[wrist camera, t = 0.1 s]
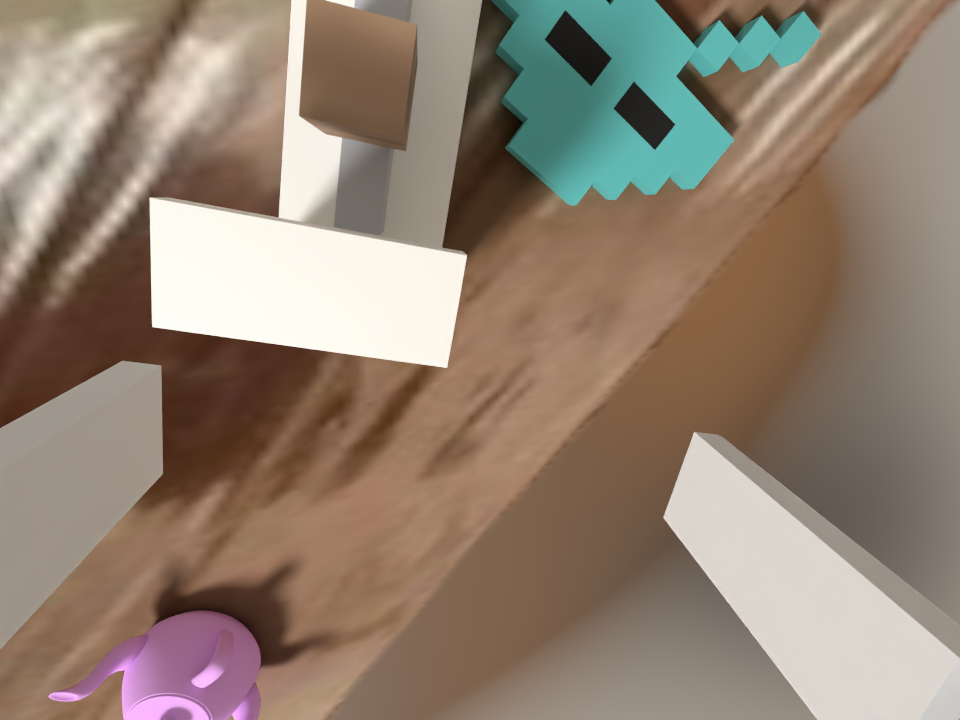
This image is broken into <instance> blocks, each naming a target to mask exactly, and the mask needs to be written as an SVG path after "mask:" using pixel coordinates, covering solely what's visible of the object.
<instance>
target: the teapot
mask: <svg viewBox="0 0 960 720" xmlns="http://www.w3.org/2000/svg"><path fill="white" fill-rule="evenodd" d="M260 665H261V654H260V649H259V647H258V644H257V642H256V640H255V638H254V637H253V635H252V634H251V632H250V631H249V630H248V629H247V628H246V627H245V626H244V625H243V624H242V623H241V622H239V621H238V620H236V619H234V618H233V617H230V616H228V615H226V614H222V613H219V612H214V611H191V612H186V613H182V614H178V615H175V616H172V617H170V618H167V619H165V620H162V621H161V622H159V623H157V624H155V625H154V626H153V627H152V628H150V629H149V630H148V631H146V633H145V634H144V635H141V636H136V637H132V638H129V639H127V640H124V641H123V642H121V643H120V644H118V645H117V646H115V647H114V648H113V649H112V650H111V651H110V652H109V653H108V654H107V655H106V656H105V657H104V658H103V659H102V660H101V662H100V663H99V664H98V665H97V666H96V668H95V669H94V670H93V671H92V672H91V673H90V674H89V675H88V676H87V677H86V678H85V679H84V680H82V681H81V682H80V683H79V684H77V685H75V686H73V687H71V688H68V689H64V690H61V691H57V692H53V693H51V694H50V695H49V696H48V697H49V698H51V699H53V700H57V701H76V700H80V699H82V698H84V697H86V696H88V695H89V694H91V693H92V692H93V691H94V690H95V689H96V688H97V687H98V686H99V685H100V684H101V683H102V682H103V681H104V680H105V678H106V677H108V676H109V675H110V674H112V673H114V672H117V671H122V670H125V673H124V678H123V684H122V707H123V717H124V720H227V719H228V718H229V717H230V716H231V715H233V717H234V719H235V720H257V719H258V715H259V711H260V702H261V699H260V694H259V690H258V688H257V685H256V683H255V680H256V678H257V675H258V672H259V670H260Z"/></svg>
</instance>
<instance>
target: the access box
mask: <svg viewBox="0 0 960 720" xmlns="http://www.w3.org/2000/svg"><path fill="white" fill-rule="evenodd" d="M326 1H330V2H334V3H338V4H341V5H345V6H349V7H353V8H357V9H360V10H364V11H368V12H372V13H375V14H379V15H383V16H387V17H391V18H394V19H398V20H402V21H406V22H410V23H413V24H417V62H418V64H417V72H416V79H415V87H414V95H413V102H412V110H411V117H410V125H409V132H408V140H407V148H406V151H401V150H397V149H392V148H387V147H383V146H378V145H374V144H369V143H364V142H360V141H355V140H350V139H346V138H341V137H336V136H332V135H327V134H325V133H323V132H322V131H320V130H319V129H317V128H316V127H314V126H313V125H312V124H310V123H309V122H307V121H306V120H304V119H303V118H301V117H300V116H299V106H300V92H301V77H302V62H303V47H304V32H305V18H306V3H307V0H292V4H291V21H290V37H289V54H288V71H287V88H286V105H285V122H284V138H283V155H282V172H281V189H280V206H279V218H278V217H272V216H267V215H261V214H256V213H250V212H245V211H239V210H234V209H228V208H223V207H218V206H212V205H207V204H201V203H196V202H190V201H185V200H179V199H174V198H150V238H151V290H152V327H156V328H163V329H171V330H178V331H185V332H192V333H199V334H207V335H214V336H221V337H228V338H236V339H243V340H250V341H257V342H264V343H272V344H279V345H286V346H293V347H301V348H308V349H315V350H322V351H329V352H337V353H344V354H351V355H358V356H365V357H373V358H380V359H387V360H394V361H402V362H409V363H416V364H423V365H430V366H438V367H445V368H447V365H448V360H449V354H450V348H451V343H452V337H453V332H454V326H455V320H456V315H457V309H458V304H459V298H460V292H461V287H462V281H463V276H464V270H465V264H466V259H467V255H466V254H465V252H463V251H458V250H452V249H447V248H442V245H443V239H444V232H445V226H446V220H447V214H448V208H449V202H450V195H451V189H452V183H453V177H454V171H455V165H456V158H457V152H458V146H459V140H460V134H461V128H462V121H463V115H464V109H465V103H466V97H467V91H468V84H469V78H470V72H471V66H472V60H473V54H474V47H475V41H476V35H477V29H478V23H479V17H480V10H481V4H482V0H326Z"/></svg>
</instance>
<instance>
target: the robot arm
mask: <svg viewBox="0 0 960 720" xmlns="http://www.w3.org/2000/svg"><path fill="white" fill-rule="evenodd" d="M162 474H163V449H162V390H161V366H160V365H152V364H144V363H136V362H128V361H121V362H120V363H118V364H116V365H114V366H112V367H111V368H109V369H107V370H105V371H103V372H102V373H100V374H98V375H96V376H94V377H92V378H91V379H89V380H87V381H85V382H83V383H82V384H80V385H78V386H76V387H74V388H73V389H71V390H69V391H67V392H65V393H64V394H62V395H60V396H58V397H56V398H54V399H53V400H51V401H49V402H47V403H45V404H44V405H42V406H40V407H38V408H36V409H35V410H33V411H31V412H29V413H27V414H26V415H24V416H22V417H20V418H18V419H16V420H15V421H13V422H11V423H9V424H7V425H6V426H4V427H2V428H0V649H1V648H2V647H3V646H4V645H5V644H6V643H7V642H8V640H9V639H10V638H11V637H12V636H13V635H14V634H15V633H16V632H17V631H18V630H19V629H20V627H21V626H22V625H23V624H24V623H25V622H26V621H27V620H28V619H29V618H30V617H31V616H32V615H33V613H34V612H35V611H36V610H37V609H38V608H39V607H40V606H41V605H42V604H43V603H44V602H45V600H46V599H47V598H48V597H49V596H50V595H51V594H52V593H53V592H54V591H55V590H56V589H57V588H58V586H59V585H60V584H61V583H62V582H63V581H64V580H65V579H66V578H67V577H68V576H69V575H70V573H71V572H72V571H73V570H74V569H75V568H76V567H77V566H78V565H79V564H80V563H81V562H82V561H83V559H84V558H85V557H86V556H87V555H88V554H89V553H90V552H91V551H92V550H93V549H94V548H95V546H96V545H97V544H98V543H99V542H100V541H101V540H102V539H103V538H104V537H105V536H106V535H107V534H108V532H109V531H110V530H111V529H112V528H113V527H114V526H115V525H116V524H117V523H118V522H119V521H120V519H121V518H122V517H123V516H124V515H125V514H126V513H127V512H128V511H129V510H130V509H131V508H132V507H133V505H134V504H135V503H136V502H137V501H138V500H139V499H140V498H141V497H142V496H143V495H144V494H145V492H146V491H147V490H148V489H149V488H150V487H151V486H152V485H153V484H154V483H155V482H156V481H157V479H158V478H159V477H160V476H161V475H162ZM664 519H665V520H666V522H667V523H668V524H669V526H670V527H671V528H672V530H673V531H674V532H675V534H676V535H677V536H678V537H679V539H680V540H681V541H682V543H683V544H684V545H685V547H686V548H687V549H688V551H689V552H690V553H691V555H692V556H693V557H694V558H695V560H696V561H697V562H698V564H699V565H700V566H701V567H702V569H703V570H704V572H705V573H706V574H707V575H708V577H709V578H710V579H711V581H712V582H713V583H714V585H715V586H716V587H717V589H718V590H719V591H720V592H721V594H722V595H723V596H724V598H725V599H726V600H727V602H728V603H729V604H730V606H731V607H732V608H733V610H734V611H735V612H736V613H737V615H738V616H739V617H740V619H741V620H742V621H743V623H744V624H745V625H746V627H747V628H748V629H749V630H750V632H751V633H752V634H753V636H754V637H755V638H756V640H757V641H758V642H759V644H760V645H761V646H762V648H763V649H764V650H765V652H766V653H767V654H768V655H769V657H770V658H771V659H772V661H773V662H774V663H775V664H776V666H777V667H778V669H779V670H780V671H781V672H782V674H783V675H784V676H785V678H786V679H787V680H788V682H789V683H790V684H791V686H792V687H793V688H794V689H795V691H796V692H797V693H798V695H799V696H800V697H801V699H802V700H803V701H804V703H805V704H806V705H807V707H808V708H809V709H810V710H811V712H812V713H813V714H814V716H815V717H816V718H817V720H960V625H959V624H958V623H956V622H955V621H954V620H952V619H951V618H950V617H949V616H948V615H946V614H945V613H944V612H943V611H941V610H940V609H939V608H937V607H936V606H935V605H934V604H933V603H931V602H930V601H929V600H927V599H926V598H925V597H924V596H922V595H921V594H920V593H918V592H917V591H916V590H915V589H913V588H912V587H911V586H910V585H908V584H907V583H906V582H905V581H903V580H902V579H901V578H900V577H898V576H897V575H896V574H895V573H893V572H892V571H891V570H889V569H888V568H887V567H886V566H884V565H883V564H882V563H881V562H879V561H878V560H877V559H876V558H874V557H873V556H872V555H871V554H869V553H868V552H867V551H865V550H864V549H863V548H862V547H860V546H859V545H858V544H857V543H855V542H854V541H853V540H852V539H850V538H849V537H848V536H847V535H845V534H844V533H843V532H841V531H840V530H839V529H838V528H836V527H835V526H834V525H833V524H831V523H830V522H829V521H828V520H826V519H825V518H824V517H822V516H821V515H820V514H819V513H817V512H816V511H815V510H813V509H812V508H811V507H810V506H809V505H807V504H806V503H805V502H804V501H802V500H801V499H800V498H799V497H797V496H796V495H795V494H793V493H792V492H791V491H790V490H788V489H787V488H786V487H785V486H783V485H782V484H781V483H780V482H778V481H777V480H776V479H774V478H773V477H772V476H771V475H769V474H768V473H767V472H765V471H764V470H763V469H762V468H760V467H759V466H758V465H757V464H755V463H754V462H753V461H752V460H750V459H749V458H748V457H747V456H745V455H744V454H743V453H742V452H740V451H739V450H738V449H736V448H735V447H734V446H733V445H731V444H730V443H729V442H728V441H726V440H725V439H724V438H723V437H721V436H720V435H715V434H707V433H699V432H694V434H693V437H692V440H691V443H690V446H689V449H688V451H687V454H686V457H685V459H684V462H683V465H682V468H681V470H680V474H679V476H678V479H677V482H676V484H675V487H674V490H673V493H672V496H671V498H670V501H669V504H668V507H667V510H666V512H665V515H664Z"/></svg>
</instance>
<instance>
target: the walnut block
mask: <svg viewBox="0 0 960 720" xmlns="http://www.w3.org/2000/svg"><path fill="white" fill-rule="evenodd" d="M417 64H418V62H417V24H413V23H410V22H406V21H402V20H398V19H394V18H391V17H387V16H383V15H379V14H375V13H372V12H368V11H364V10H360V9H357V8H353V7H349V6H345V5H341V4H338V3H334V2H330V1H326V0H307V3H306V18H305V32H304V47H303V62H302V77H301V92H300V106H299V116H300V117H301V118H303V119H304V120H306V121H307V122H309V123H310V124H312V125H313V126H314V127H316V128H317V129H319V130H320V131H322V132H323V133H325V134H327V135H332V136H336V137H341V138H346V139H350V140H355V141H360V142H364V143H369V144H374V145H378V146H383V147H387V148H392V149H397V150H401V151H406V148H407V140H408V132H409V125H410V117H411V110H412V102H413V95H414V87H415V79H416V72H417Z"/></svg>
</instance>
